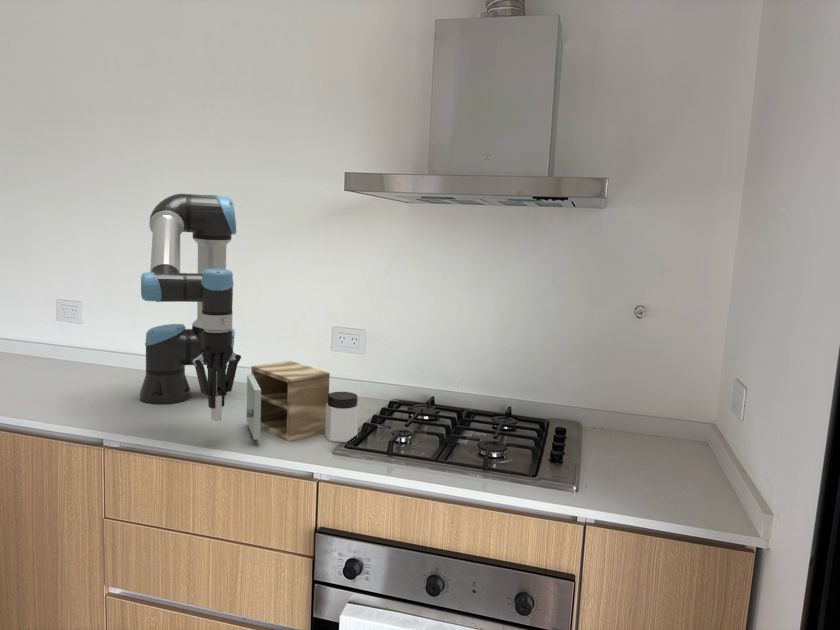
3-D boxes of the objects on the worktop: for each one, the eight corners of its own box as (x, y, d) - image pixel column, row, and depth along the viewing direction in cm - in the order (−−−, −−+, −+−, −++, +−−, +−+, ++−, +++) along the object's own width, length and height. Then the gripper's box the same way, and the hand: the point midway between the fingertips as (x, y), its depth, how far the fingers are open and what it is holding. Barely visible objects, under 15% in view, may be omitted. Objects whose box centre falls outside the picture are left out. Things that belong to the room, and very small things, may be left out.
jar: (361, 441, 181) (362, 398, 180) (332, 444, 178) (333, 400, 176) (349, 431, 189) (351, 390, 188) (322, 433, 186) (323, 392, 184)
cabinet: (250, 423, 191) (251, 365, 189) (288, 415, 201) (289, 360, 198) (289, 441, 178) (290, 379, 176) (327, 431, 188) (329, 373, 185)
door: (240, 419, 189) (241, 374, 188) (251, 418, 191) (252, 373, 189) (248, 440, 173) (248, 390, 171) (260, 439, 174) (261, 390, 172)
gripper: (200, 334, 163) (199, 427, 166) (247, 330, 172) (246, 418, 175) (185, 329, 168) (185, 420, 171) (232, 325, 177) (231, 411, 180)
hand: (216, 419), depth 173 cm, fingers closed
